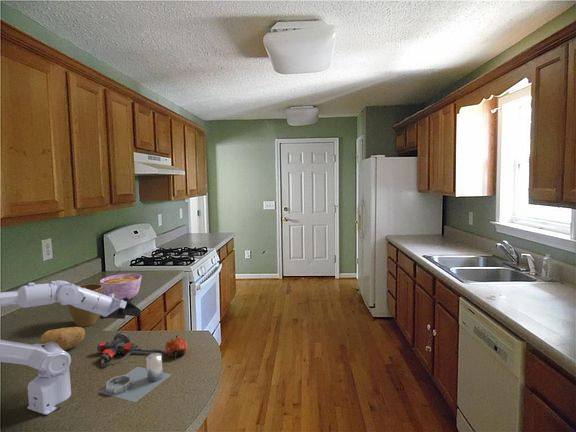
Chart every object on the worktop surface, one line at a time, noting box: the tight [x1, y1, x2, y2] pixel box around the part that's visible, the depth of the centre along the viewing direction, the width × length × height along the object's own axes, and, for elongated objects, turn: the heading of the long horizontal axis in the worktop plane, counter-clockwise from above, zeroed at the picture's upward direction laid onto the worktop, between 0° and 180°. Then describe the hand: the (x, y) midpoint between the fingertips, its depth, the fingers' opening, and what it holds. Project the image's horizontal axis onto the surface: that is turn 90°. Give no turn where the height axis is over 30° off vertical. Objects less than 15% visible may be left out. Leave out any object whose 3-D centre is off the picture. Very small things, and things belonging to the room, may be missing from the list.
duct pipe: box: [146, 353, 164, 382], centre depth 108 cm, size 5×4×7 cm
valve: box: [96, 332, 167, 368], centre depth 123 cm, size 6×26×15 cm
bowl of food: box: [99, 273, 143, 301], centre depth 185 cm, size 20×20×12 cm
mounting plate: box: [98, 366, 172, 403], centre depth 106 cm, size 15×14×1 cm
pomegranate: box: [164, 335, 188, 360], centre depth 123 cm, size 7×7×10 cm
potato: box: [40, 326, 86, 352], centre depth 130 cm, size 10×14×8 cm
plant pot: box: [66, 283, 103, 328], centre depth 154 cm, size 15×15×16 cm
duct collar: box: [105, 374, 132, 395], centre depth 104 cm, size 7×7×2 cm
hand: (132, 314), depth 115 cm, fingers open, 7 cm apart
